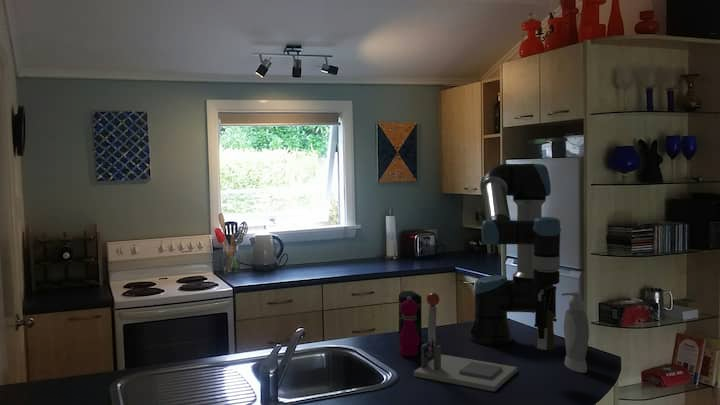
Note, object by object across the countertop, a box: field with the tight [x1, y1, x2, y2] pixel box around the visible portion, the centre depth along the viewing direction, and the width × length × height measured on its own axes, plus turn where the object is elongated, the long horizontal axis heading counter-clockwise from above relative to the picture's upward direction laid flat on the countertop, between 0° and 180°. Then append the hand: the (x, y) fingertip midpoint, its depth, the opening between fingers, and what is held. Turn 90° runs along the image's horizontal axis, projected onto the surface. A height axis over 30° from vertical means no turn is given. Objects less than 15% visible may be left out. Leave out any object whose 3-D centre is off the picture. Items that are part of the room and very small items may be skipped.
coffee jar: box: [398, 290, 423, 345], centre depth 236 cm, size 10×8×19 cm
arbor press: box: [413, 342, 518, 392], centre depth 201 cm, size 20×26×8 cm
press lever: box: [425, 292, 440, 360], centre depth 203 cm, size 4×4×20 cm
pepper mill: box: [398, 296, 421, 357], centre depth 223 cm, size 7×7×20 cm
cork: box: [534, 310, 556, 351], centre depth 194 cm, size 6×6×11 cm
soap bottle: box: [561, 291, 590, 374], centre depth 205 cm, size 13×8×24 cm, turn 13°
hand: (545, 345), depth 194 cm, fingers closed on cork, 6 cm apart
